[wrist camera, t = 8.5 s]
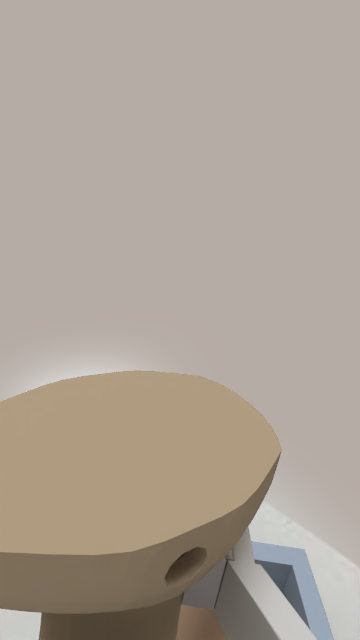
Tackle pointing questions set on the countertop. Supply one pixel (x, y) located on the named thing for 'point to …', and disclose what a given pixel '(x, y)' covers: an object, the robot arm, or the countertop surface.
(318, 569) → the countertop surface
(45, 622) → the handle
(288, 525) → the countertop surface
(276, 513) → the countertop surface
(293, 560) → the square frame
